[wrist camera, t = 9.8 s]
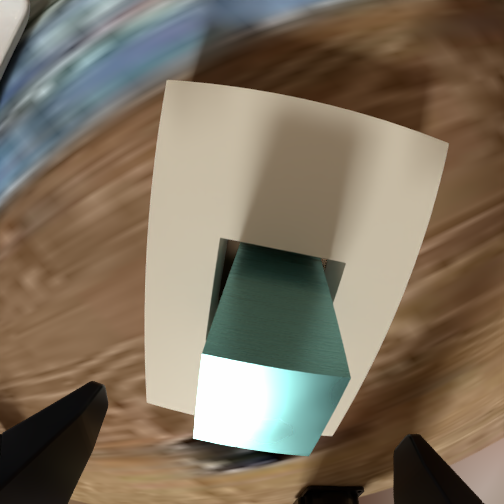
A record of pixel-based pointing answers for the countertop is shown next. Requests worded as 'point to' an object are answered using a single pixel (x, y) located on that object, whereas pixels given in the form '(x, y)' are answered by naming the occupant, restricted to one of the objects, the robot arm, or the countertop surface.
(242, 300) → the teal rectangular block
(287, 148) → the beige square hole board
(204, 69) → the countertop surface
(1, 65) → the salad plate
